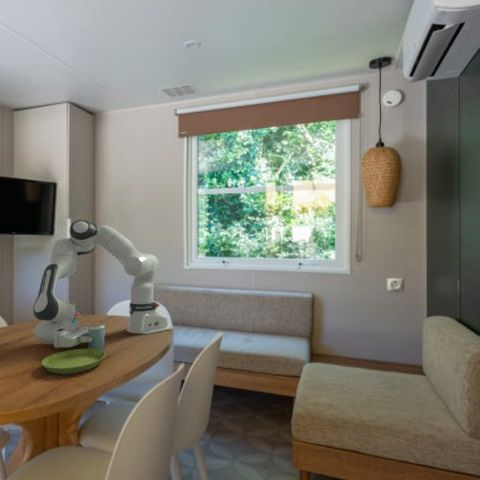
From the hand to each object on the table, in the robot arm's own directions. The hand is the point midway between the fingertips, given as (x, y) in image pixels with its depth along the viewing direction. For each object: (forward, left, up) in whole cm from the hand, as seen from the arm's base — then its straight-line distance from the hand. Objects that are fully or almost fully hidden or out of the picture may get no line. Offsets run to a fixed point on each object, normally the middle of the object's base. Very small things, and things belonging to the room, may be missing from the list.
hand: (98, 336), depth 135 cm
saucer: (+10, +13, -6) cm, 18 cm away
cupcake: (+7, -52, -6) cm, 52 cm away
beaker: (+1, -1, -6) cm, 6 cm away
